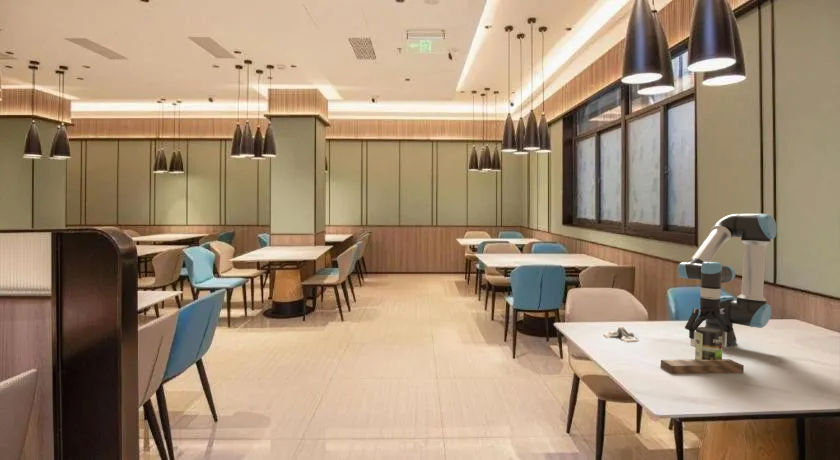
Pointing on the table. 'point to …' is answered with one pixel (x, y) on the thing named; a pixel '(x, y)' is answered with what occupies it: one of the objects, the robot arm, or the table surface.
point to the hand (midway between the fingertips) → (708, 346)
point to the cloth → (622, 335)
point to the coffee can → (708, 343)
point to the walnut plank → (702, 366)
